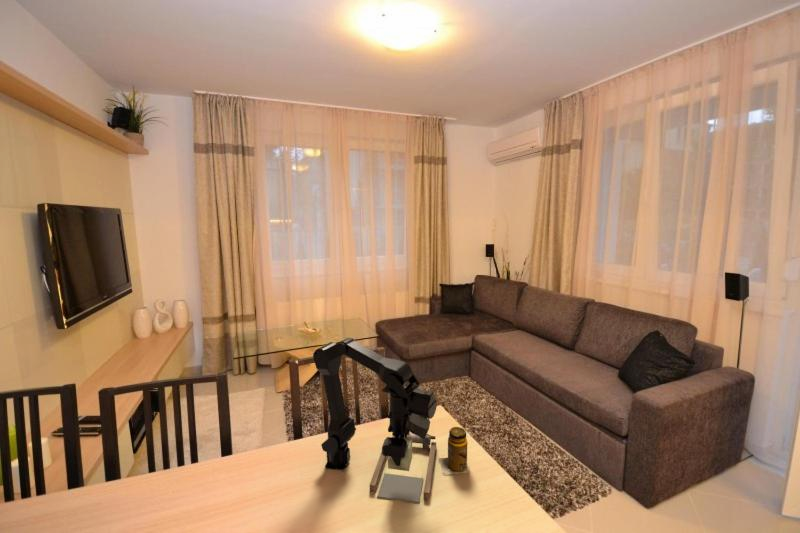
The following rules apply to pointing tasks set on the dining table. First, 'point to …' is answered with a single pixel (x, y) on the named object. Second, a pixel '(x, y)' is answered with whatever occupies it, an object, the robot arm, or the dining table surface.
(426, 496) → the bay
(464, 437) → the condiment
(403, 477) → the front pad
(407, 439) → the block
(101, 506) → the dining table surface
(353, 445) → the dining table surface
